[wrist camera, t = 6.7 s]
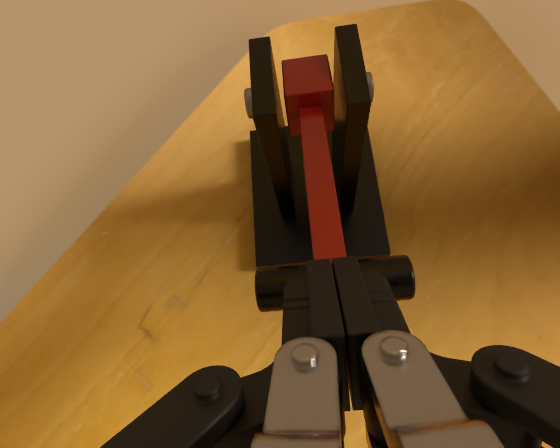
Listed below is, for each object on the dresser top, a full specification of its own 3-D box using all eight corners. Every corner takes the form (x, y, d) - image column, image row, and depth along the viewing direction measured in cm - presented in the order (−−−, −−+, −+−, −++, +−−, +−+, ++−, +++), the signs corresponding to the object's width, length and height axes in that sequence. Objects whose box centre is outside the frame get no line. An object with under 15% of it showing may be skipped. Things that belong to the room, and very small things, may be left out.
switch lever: (409, 311, 13) (421, 280, 11) (264, 323, 13) (251, 295, 11) (354, 92, 20) (356, 49, 18) (260, 104, 20) (252, 63, 18)
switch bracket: (388, 258, 26) (439, 165, 14) (258, 270, 27) (205, 192, 15) (364, 125, 30) (388, -34, 18) (252, 139, 31) (206, -5, 19)
